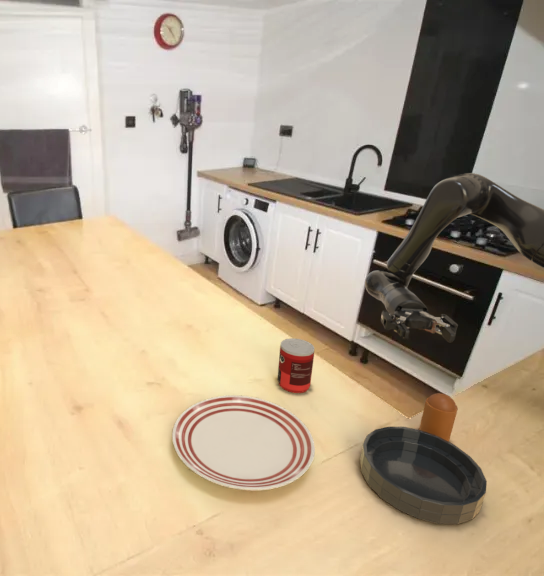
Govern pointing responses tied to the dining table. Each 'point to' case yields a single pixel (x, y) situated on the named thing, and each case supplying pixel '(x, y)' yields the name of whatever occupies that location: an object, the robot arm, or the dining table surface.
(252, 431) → the dinner plate
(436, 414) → the orange round-topped cylinder
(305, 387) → the canned food
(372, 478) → the shallow round tray
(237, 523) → the dining table surface
